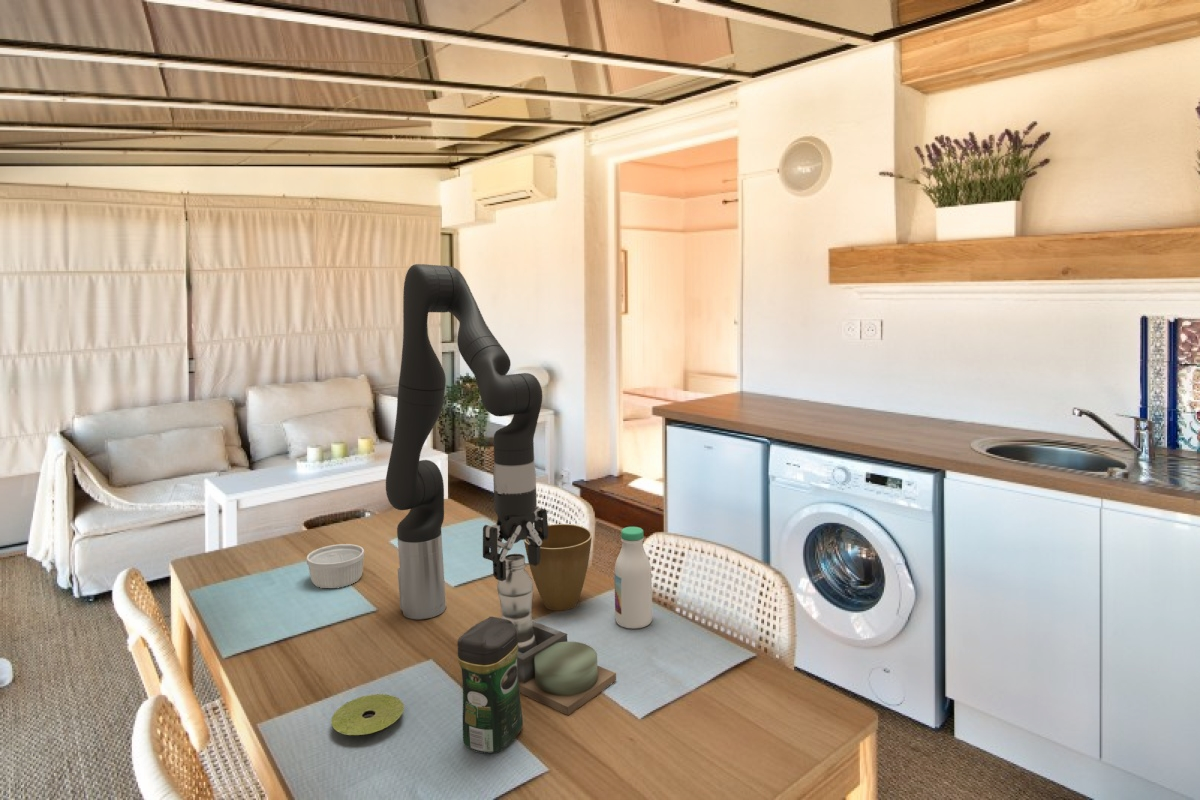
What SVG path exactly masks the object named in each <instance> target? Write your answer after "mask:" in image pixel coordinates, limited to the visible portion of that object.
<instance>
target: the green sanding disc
mask: <svg viewBox="0 0 1200 800" xmlns="http://www.w3.org/2000/svg"><path fill="white" fill-rule="evenodd" d="M404 711H405V707H404V703H403V701H402V700H401V699H400V698H398V697H396V696H394V695H390V694H383V693H382V694H380V693H377V694H368V695H363V696H359V697H357V698H355V699H352V700H350V701H348V702H346V703H344V704H342V705H341V706H340V707H339V708H338V709H336V711H335V712H334V713H333V715H332V716H331V719H330V720H331V721H330V722H331V726H332V728H333V729H334V730H335V731H336V732H338V733H340V734H342V735H346V736H347V735H348V736H360V735H361V736H362V735H369V734H373V733H376V732H379V731H382V730H384V729H385V728H388V727H389V726H392V725H393V724H394V723H395V722H397V720H398V719H400V717H401V716H402V715H403V713H404Z"/></svg>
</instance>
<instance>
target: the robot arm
mask: <svg viewBox="0 0 1200 800" xmlns="http://www.w3.org/2000/svg"><path fill="white" fill-rule="evenodd" d="M402 300H403V301H402V302H403V305H402V307H403V310H402V312H403V313H402V314H403V315H402V317H403V319H402V320H403V321H402V322H403V324H402V325H403V326H402V328H403V329H402V331H403V332H402V334H403V335H402V348H401V349H402V351H401V359H400V361H401V363H400V370H399V371H400V372H399V379H398V386H397V387H398V388H397V405H396V415H395V416H396V417H395V424H394V431H393V439H392V446H391V449H390V450H391V451H390V457H389V461H388V466H387V471H386V477H385V491H386V492H385V493H386V497H387V499H388V502H389V504H390V505H391V506H392V507H393V508H394V509H396V510H398V511H408V510H409V512H408V513H407V514H406V515H405V516H404V517H403V518H402V520H401V521H400V522H399V523H398V524H397V527H396V529H397V530H396V533H397V534H396V535H397V548H398V549H397V550H398V562H399V568H398V569H397V578H398V579H397V580H398V581H397V582H398V595H399V608H400V610H401V611H402V615H403V616H404V617H405V618H407V619H411V620H428V619H431V618H434V617H437V616H439V615H441V614H442V613H444V612H445V611H446V608H447V605H446V603H447V601H446V588H445V587H446V586H445V585H446V584H445V571H444V570H445V569H444V552H443V550H444V549H443V537H442V536H443V535H442V526H443V523H444V520H445V485H444V484H445V483H444V478H443V475H442V474H443V473H442V471H441V470H440V468H439V466H438V465H437V464H436V463H435V462H434V461H432V460H429V459H421V458H420V457H421V453H422V450H423V447H424V445H425V442H426V440H427V439H428V438H429V437H428V436H429V435H430V434H431V432H432V430H433V428H434V427H435V425H436V424H437V421H438V420H439V418H440V415H441V413H442V411H443V406H444V401H445V393H446V382H447V381H446V380H447V378H446V374H445V369H444V368H443V365H442V364H441V361H440V359H439V357H438V356H437V354H436V352H435V350H434V348H433V346H432V344H431V341H430V339H429V329H428V328H429V327H428V318H429V313H441V314H442V313H450V314H451V315H453V316H454V317H455V319H457V321H458V322H459V325H458V332H457V339H456V340H457V341H456V342H457V348H458V352H459V353H460V355H461V357H462V359H463V361H464V362H465V363H466V366H467V367H468V369H470V371H471V372H472V374H473V375H474V378H475V382H476V384H477V388H478V391H479V396H480V400H481V404H482V406H483V407H484V409H485V410H486V411H487V412H488V413H489V414H491V415H493V416H494V417H506V416H512V419H511V421H510V422H509V424H507V425H505V426H503V427H501V428H499V429H497V430H496V431H495V432H494V434H493V461H494V463H493V466H494V467H493V476H492V477H493V479H492V480H493V503H494V504H493V505H494V507H493V508H494V509H493V510H494V512H495V514H496V516H497V519H496V522H495V523H496V524H492V525H487V524H485V525H483V526H482V558H483V559H484V560H485V559H486V560H489V561H491V562H492V573H493V577H494V578H495V580H496V581H497V580H500V581H504V580H506V561H505V560H504V559H505V557H506V555H508V552H509V551H511V549H512V548H513V546H514V544H517V543H518V542H520V541H521V540H522V541H524V539H526V540H527V541H528V542H529V543H530V544H529V545H528V558H527V561H529V562H528V565H529V564H531V565H534V566H537V565H539V563H540V558H541V557H540V545H541V544H542V541H543V540H544V539H545V540H547V539H548V537H549V535H548V525H549V521H548V510H547V509H545V508H542V507H538V505H537V502H538V501H537V472H536V471H537V470H536V467H535V466H536V465H535V449H534V447H535V446H534V445H535V444H534V437H535V434H536V429H537V426H538V421H539V418H540V413H541V408H542V403H543V390H542V386H541V383H540V381H539V380H538V378H537V377H536V376H535V375H534V374H532V373H529V372H528V373H527V372H522V373H510V374H508V373H509V372H510V368H511V359H510V357H509V354H508V353H507V352H506V350H505V349H504V348H503V346H502V345H501V344H500V342H499V341H498V340H497V338H496V337H495V336H494V334H493V332H492V331H491V329H490V327H489V326H488V325H487V323H486V321H485V318H484V317H483V314H482V313H481V311H480V310H481V309H480V308H479V306H478V304H477V301H476V299H475V298H474V295H473V293H472V291H471V289H470V286H469V284H468V282H467V280H466V279H465V277H464V275H463V274H462V272H461V271H459V269H458V268H455V267H453V266H449V265H438V264H437V265H436V264H424V263H422V264H421V263H416V264H413V265H411V266H410V267H409V268H408V269H407V271H406V275H405V278H404V283H403V299H402ZM420 459H421V460H420ZM541 528H542V532H541ZM503 540H504V541H505V542H503Z"/></svg>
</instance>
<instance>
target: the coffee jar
mask: <svg viewBox="0 0 1200 800" xmlns="http://www.w3.org/2000/svg"><path fill="white" fill-rule="evenodd" d="M517 653H518V637H517V631H516V627H515V626H514V624H513V623H512V622H511V621H510V620H507V619H502V617H496V616H488V618H485V619H484V620H482V621H479V622H478V623H476V624H475V625H473V626H472V627H470V628H469V629H468V630H467V631H465V632H464V633H463V634H462V635H460V637H459V638H458V639H457V660H458V664H459V667H460V669H461V679H462V682H461V683H462V741H463V744H464V746H465V747H466V748H468V749H469V750H471V751H474V752H476V753H479V754H497V753H500V752H502V751H503V750H505V749H506V748H507V747H508V746H509V745H510V744H511V743H512V742H513V741H514V740H515V739H516V738H517V736H518V735H519V734H520V733H521V730H522V728H523V725H524V724H523V723H524V722H523V721H524V720H523V710H522V704H521V703H522V702H521V695H520V694H521V693H519V683H518V673H517Z"/></svg>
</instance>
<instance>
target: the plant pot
mask: <svg viewBox="0 0 1200 800" xmlns="http://www.w3.org/2000/svg"><path fill="white" fill-rule="evenodd" d="M541 532H542V528H541ZM548 535H549V537H548V539H547V540H545V539H544V540H543V541H542V544H541V545H540V557H541V558H540V563H539V565H537V566H534V565H531V564H529V561H528V560H527V561H528V565H529V568H530V572H531V575H532V576H531V577H532V580H533V582H534V585H535V587H536V589H537V592H538V595H539V597H540V600H541V602H542V603H543V605H544V607H545V608H546V609H548V610H550V611H554V612H555V611H559V612H560V611H568V610H571V609H573V608H574V607H576V606H577V604H578V603H579V599H580V596H581V593H582V590H583V588H584V583H585V580H586V576H587V571H588V567H589V562H590V555H591V548H592V547H591V546H592V538H593V534H592V532H591V530H589V529H588V528H586V527H585V526H581V525H577V524H570V523H559V524H558V523H556V524H548ZM523 542H524V548H525V553H526V557H527V559H528V545H529V544H530V543H529V542H528V541H527V540H526V539H524V540H523Z"/></svg>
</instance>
